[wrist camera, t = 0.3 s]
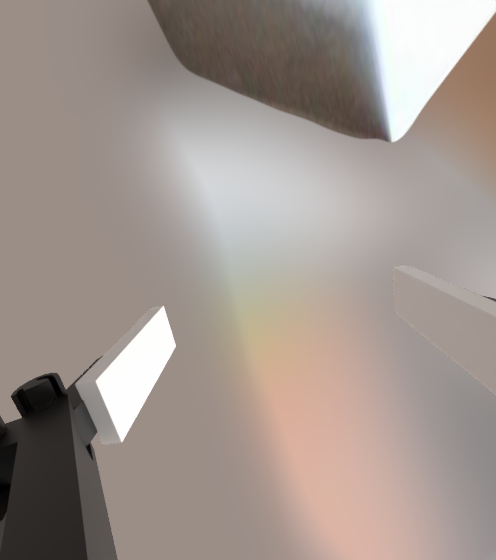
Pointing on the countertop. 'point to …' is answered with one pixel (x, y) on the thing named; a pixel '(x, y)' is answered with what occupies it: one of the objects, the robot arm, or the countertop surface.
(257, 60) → the countertop surface
